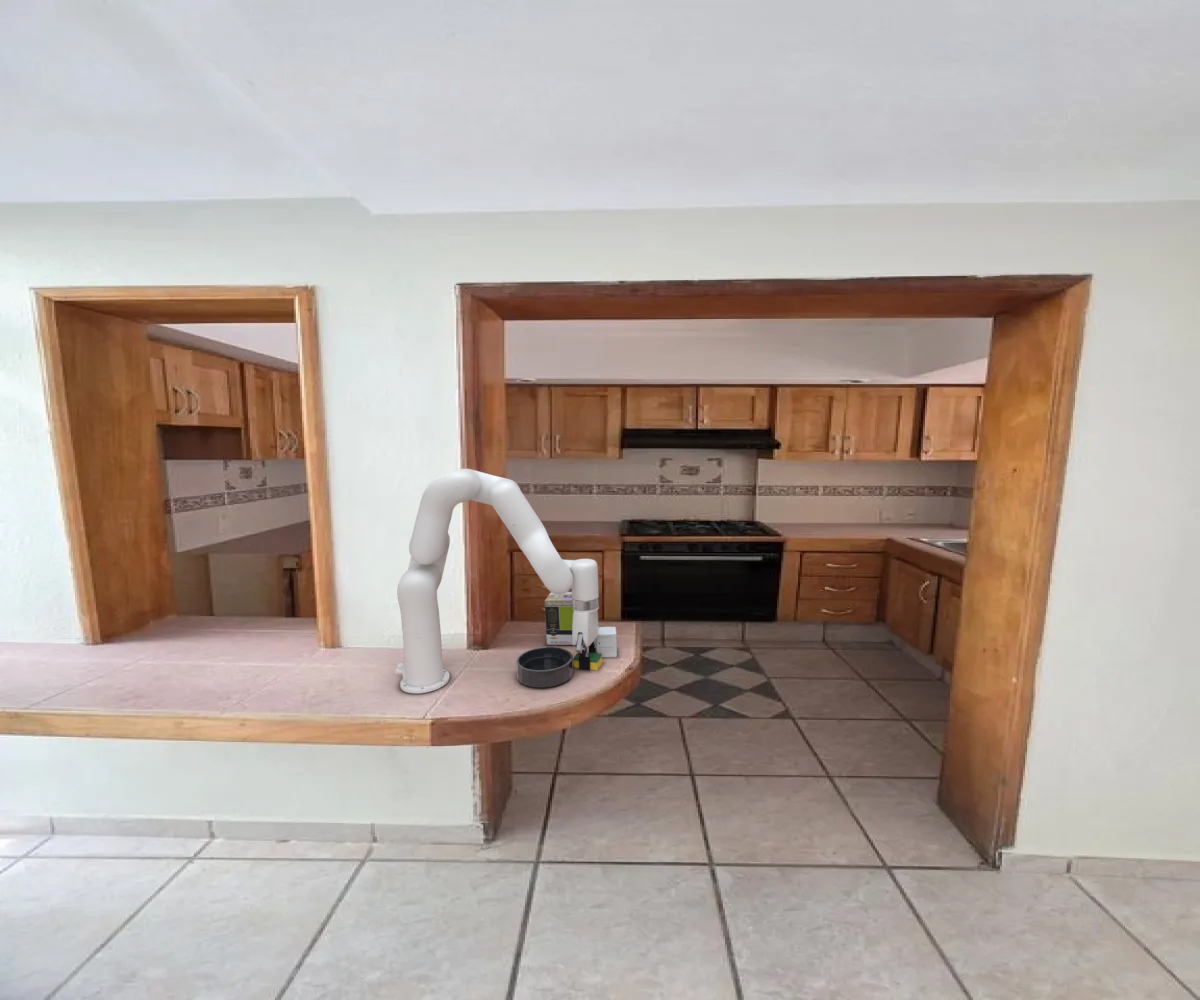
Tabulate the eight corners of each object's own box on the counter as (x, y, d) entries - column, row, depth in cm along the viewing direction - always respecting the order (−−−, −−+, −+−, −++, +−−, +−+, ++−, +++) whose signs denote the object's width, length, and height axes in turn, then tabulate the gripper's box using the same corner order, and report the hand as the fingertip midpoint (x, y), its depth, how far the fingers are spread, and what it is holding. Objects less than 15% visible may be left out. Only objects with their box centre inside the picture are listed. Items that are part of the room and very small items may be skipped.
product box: (596, 658, 146) (595, 634, 146) (596, 649, 152) (595, 626, 152) (617, 657, 146) (616, 633, 146) (616, 648, 152) (615, 625, 152)
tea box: (596, 634, 165) (595, 590, 163) (593, 646, 155) (591, 600, 153) (552, 633, 166) (550, 590, 165) (545, 645, 156) (543, 600, 155)
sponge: (573, 667, 141) (573, 657, 140) (579, 660, 145) (579, 651, 145) (597, 670, 139) (596, 660, 138) (602, 663, 143) (601, 653, 143)
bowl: (507, 685, 131) (506, 667, 131) (532, 660, 146) (531, 644, 145) (560, 692, 127) (559, 674, 126) (580, 666, 141) (580, 650, 140)
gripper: (583, 593, 149) (585, 651, 151) (561, 612, 133) (564, 677, 135) (607, 595, 146) (609, 654, 149) (588, 614, 131) (590, 680, 133)
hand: (587, 664), depth 142 cm, fingers closed on sponge, 4 cm apart
